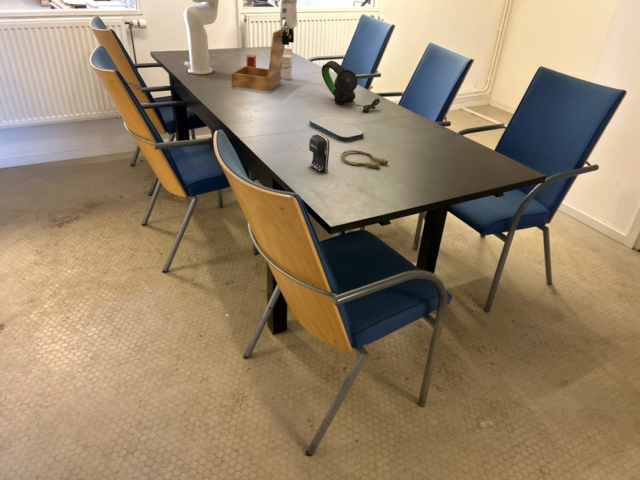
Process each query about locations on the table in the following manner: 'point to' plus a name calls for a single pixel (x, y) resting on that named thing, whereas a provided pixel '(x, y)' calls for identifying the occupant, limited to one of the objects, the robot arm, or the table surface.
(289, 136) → the table surface
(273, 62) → the tea box lid
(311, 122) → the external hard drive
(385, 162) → the extension cord
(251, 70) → the tea box
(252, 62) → the tea tin
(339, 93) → the headset
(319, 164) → the battery charger
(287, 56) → the ink cartridge box
